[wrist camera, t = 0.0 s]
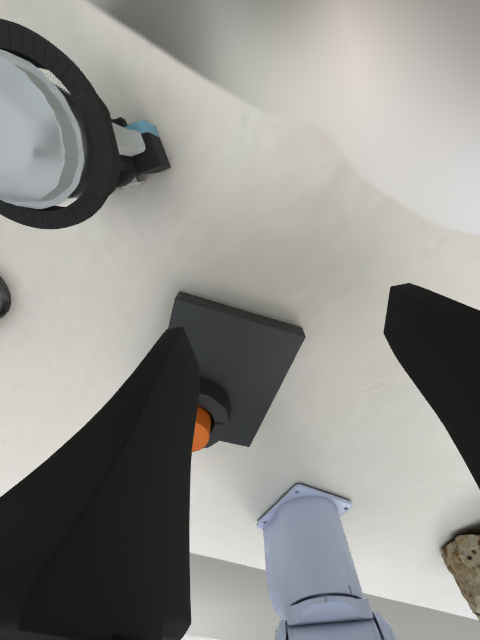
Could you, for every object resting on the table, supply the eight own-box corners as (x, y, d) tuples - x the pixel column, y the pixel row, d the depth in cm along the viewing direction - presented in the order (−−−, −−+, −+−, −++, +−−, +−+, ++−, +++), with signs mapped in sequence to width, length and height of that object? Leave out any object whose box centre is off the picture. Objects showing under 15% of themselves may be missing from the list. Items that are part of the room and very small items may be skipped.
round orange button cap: (204, 438, 23) (202, 456, 22) (163, 429, 23) (157, 447, 21) (216, 408, 22) (214, 426, 20) (172, 398, 21) (166, 415, 20)
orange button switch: (248, 435, 27) (250, 465, 25) (149, 413, 26) (138, 441, 23) (302, 327, 22) (311, 349, 19) (178, 291, 20) (169, 309, 17)
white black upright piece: (91, 223, 18) (-50, 266, 9) (42, 129, 16) (-212, 66, 7) (185, 191, 17) (130, 204, 8) (148, 87, 15) (16, -49, 6)
